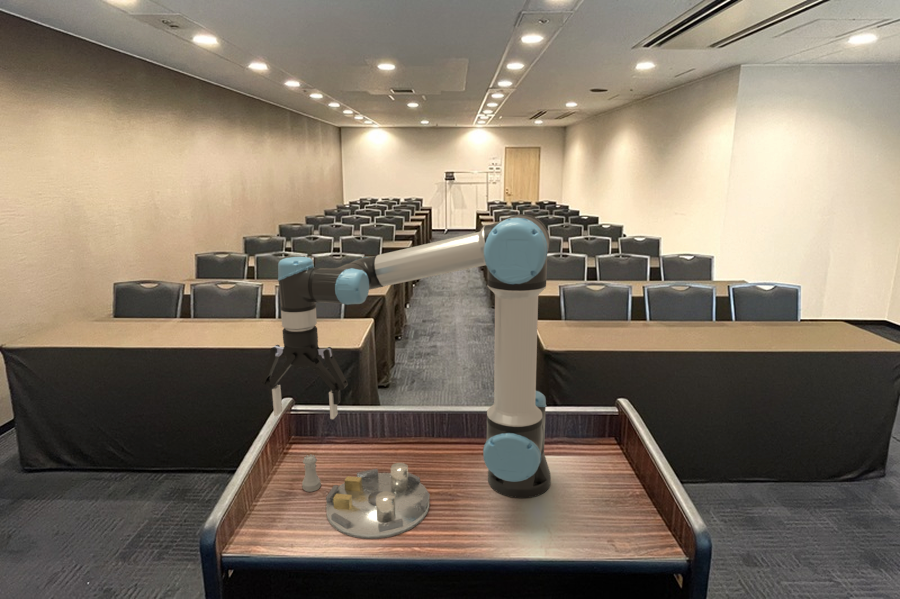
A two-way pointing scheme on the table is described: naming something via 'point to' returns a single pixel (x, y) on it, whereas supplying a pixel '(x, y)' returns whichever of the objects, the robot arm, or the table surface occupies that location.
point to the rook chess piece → (310, 474)
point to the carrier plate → (369, 512)
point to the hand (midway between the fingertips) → (306, 415)
